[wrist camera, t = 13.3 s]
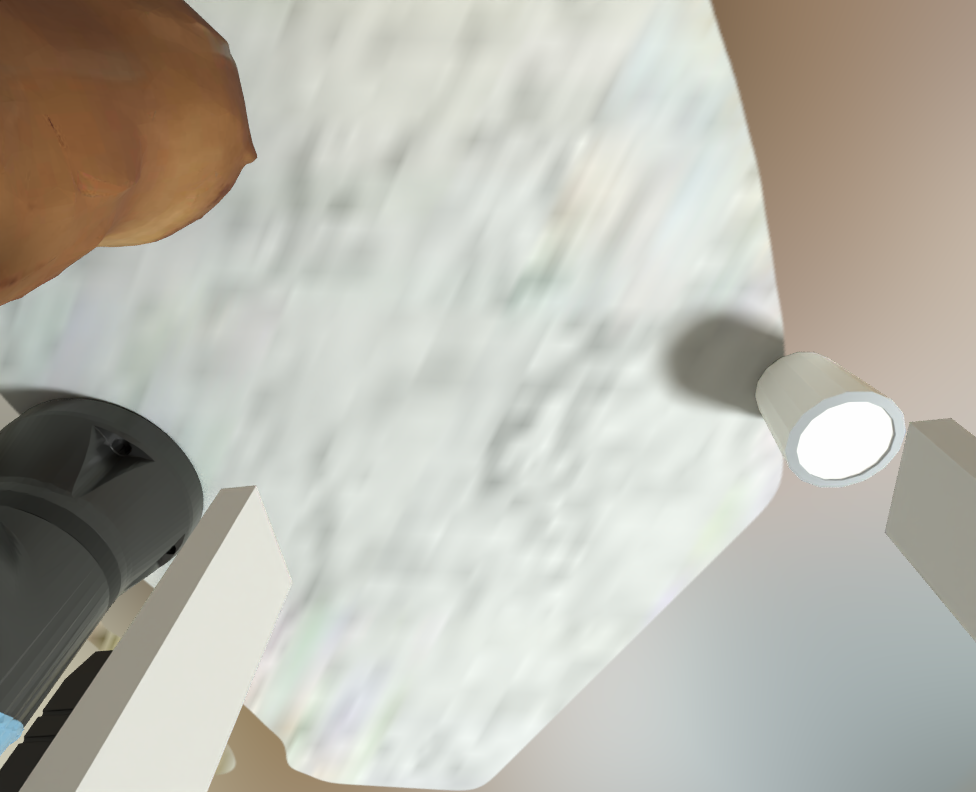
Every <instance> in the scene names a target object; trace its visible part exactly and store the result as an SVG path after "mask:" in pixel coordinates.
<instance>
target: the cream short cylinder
mask: <svg viewBox="0 0 976 792" xmlns="http://www.w3.org/2000/svg"><path fill="white" fill-rule="evenodd" d="M755 398H756V401H757V405H758V409H759V410H760V412H761V414H762V416H763V418H764V420H765V422H766V424H767V426H768V428H769V430H770V432H771V434H772V436H773V438H774V439H775V441H776V443H777V445H778V447H779V449H780V451H781V453H782V455H783V457H784V459H785V461H786V463H787V465H788V466H789V468H790V469H791V470H792V471H793V472H794V473H795V474H796V475H797V476H798V477H799V478H800V479H801V481H804V482H807V483H809V484H812V485H815V486H818V487H845V486H848V485H851V484H855V483H858V482H861V481H864V480H866V479H868V478H869V477H871V476H873V475H874V474H875V473H877V472H879V471H880V470H882V469H883V468H885V467H886V466H887V464H888V463H889V462H890V461H891V460H892V459H893V457H894V456H895V455H896V454H897V453H898V452H899V450H900V447H901V444H902V441H903V439H904V436H905V433H906V429H905V422H904V415H903V413H902V411H901V410H900V409H899V408H898V407H897V405H896V404H895V403H894V402H893V401H892V400H891V399H890V398H889V397H887V396H886V395H884V394H882V393H881V392H879V391H878V390H876V389H875V388H873V387H872V386H870V385H869V384H867V383H866V382H864V381H863V380H861V379H860V378H858V377H857V376H855V375H853V374H852V373H851V372H849V371H847V370H846V369H844V368H843V367H841V366H840V365H838V364H837V363H835V362H834V361H832V360H831V359H829V358H828V357H825V356H823V355H820V354H818V353H815V352H796V353H793V354H790V355H787V356H785V357H782V358H780V359H779V360H777V361H776V362H775V363H773V364H772V365H771V366H769V367H768V368H767V369H766V370H765V372H764V373H763V375H762V376H761V378H760V379H759V381H758V383H757V388H756V393H755Z"/></svg>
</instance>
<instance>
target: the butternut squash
mask: <svg viewBox="0 0 976 792" xmlns="http://www.w3.org/2000/svg"><path fill="white" fill-rule="evenodd" d="M256 158H257V154H256V151H255V148H254V146H253V143H252V138H251V134H250V130H249V125H248V119H247V113H246V107H245V101H244V97H243V92H242V88H241V83H240V79H239V74H238V70H237V67H236V63H235V61H234V59H233V57H232V56H231V54H230V49H229V45H228V43H227V41H226V40H225V39H224V38H223V37H222V36H221V35H220V34H219V33H218V32H217V31H215V30H214V29H213V28H212V27H211V26H210V25H209V24H208V23H207V22H206V21H205V20H204V19H203V18H202V17H201V16H200V15H199V14H198V13H197V12H195V11H194V10H193V9H192V8H191V7H190V6H189V5H188V4H187V3H186V2H185V1H184V0H0V306H1V305H3V304H6V303H8V302H10V301H13V300H16V299H19V298H22V297H23V296H25V295H26V294H28V293H29V292H30V291H32V290H34V289H35V288H37V287H39V286H40V285H42V284H44V283H45V282H47V281H49V280H51V279H53V278H55V277H56V276H58V275H59V274H60V273H61V272H62V271H63V270H65V269H66V268H67V267H69V266H70V265H71V264H73V263H74V262H76V261H77V260H79V259H80V258H81V257H83V256H84V255H86V254H87V253H89V252H90V251H92V250H93V249H94V248H96V247H121V246H135V245H141V244H146V243H152V242H156V241H159V240H161V239H163V238H166V237H168V236H170V235H172V234H174V233H175V232H177V231H179V230H181V229H182V228H184V227H186V226H187V225H189V224H191V223H193V222H195V221H196V220H198V219H201V218H202V217H203V216H204V215H205V214H206V213H207V212H209V211H210V210H211V209H212V208H213V207H214V206H215V205H216V204H218V203H219V202H220V200H221V199H222V198H223V197H224V196H225V195H226V194H227V193H228V192H229V191H230V190H231V188H232V187H233V185H234V184H235V182H236V180H237V178H238V176H239V174H240V172H241V170H242V169H243V167H244V166H245V165H246V164H249V163H251V162H253V161H254V160H255V159H256Z"/></svg>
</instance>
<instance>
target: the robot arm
mask: <svg viewBox="0 0 976 792" xmlns="http://www.w3.org/2000/svg"><path fill="white" fill-rule="evenodd" d="M202 511H203V492H202V487H201V483H200V480H199V478H198V475H197V473H196V471H195V469H194V467H193V465H192V464H191V462H190V460H189V459H188V457H187V456H186V455H185V453H184V452H183V451H182V450H181V448H180V447H179V446H178V445H177V444H176V443H175V442H174V441H173V440H172V439H171V438H170V437H169V436H168V435H166V434H165V433H164V432H163V431H162V430H160V429H159V428H158V427H156V426H155V425H153V424H152V423H150V422H149V421H147V420H145V419H144V418H142V417H140V416H138V415H136V414H134V413H132V412H130V411H128V410H125V409H123V408H120V407H118V406H115V405H112V404H108V403H104V402H100V401H95V400H89V399H73V398H72V399H58V400H53V401H49V402H45V403H42V404H39V405H37V406H35V407H33V408H31V409H29V410H28V411H26V412H25V413H23V414H22V415H20V416H19V417H18V418H16V419H15V420H14V421H12V422H11V423H9V424H8V425H7V426H5V427H4V428H3V429H2V430H1V431H0V755H1V754H2V753H3V752H4V750H5V749H6V748H7V747H8V746H9V745H10V744H12V743H13V742H15V741H16V740H17V739H18V738H19V737H20V736H21V734H22V731H23V730H24V729H23V728H24V727H25V725H26V724H27V723H28V721H29V720H30V718H31V717H32V716H33V714H34V713H35V711H36V710H37V709H38V707H39V706H40V704H41V703H42V702H43V700H44V699H45V697H46V696H47V694H48V693H49V692H50V690H51V689H52V688H53V686H54V685H55V683H56V682H57V681H58V679H59V678H60V676H61V675H62V674H63V672H64V671H65V669H66V668H67V667H68V665H69V664H70V662H71V661H72V660H73V658H74V657H75V655H76V654H77V652H78V651H79V650H80V649H81V647H82V646H83V644H84V643H85V642H86V640H87V639H88V637H89V636H90V635H91V633H92V632H93V630H94V629H95V628H96V626H97V625H98V623H99V622H100V621H101V619H102V618H103V616H104V615H105V613H106V612H107V611H108V609H109V608H110V607H111V605H112V604H113V603H114V602H115V600H116V599H117V597H118V596H120V595H121V594H122V593H124V592H126V591H127V590H128V589H130V588H131V587H133V586H134V585H136V584H137V583H138V582H140V581H141V580H143V579H144V578H146V577H147V576H148V575H150V574H151V573H153V572H154V571H155V570H157V569H158V568H159V567H161V566H163V565H164V564H165V563H167V562H168V561H170V560H171V559H172V558H173V557H174V556H176V555H177V556H176V557H175V559H174V560H173V562H172V563H171V565H170V566H169V568H168V569H167V571H166V572H165V574H164V575H163V577H162V578H161V580H160V581H159V583H158V584H157V586H156V587H155V589H154V590H153V592H152V593H151V595H150V596H149V598H148V599H147V601H146V602H145V604H144V605H143V607H142V608H141V610H140V611H139V613H138V614H137V616H136V617H135V619H134V620H133V622H132V623H131V625H130V626H129V628H128V629H127V631H126V632H125V634H124V635H123V636H122V638H121V639H120V641H119V642H118V644H117V645H116V647H115V648H114V650H110V651H97V652H95V653H94V654H92V655H91V656H90V657H89V658H88V659H87V660H86V661H85V662H84V663H83V664H82V665H80V666H79V667H78V668H77V669H76V670H75V671H74V672H73V673H71V674H70V675H69V676H68V677H67V678H66V679H65V680H64V682H63V683H62V684H61V686H60V687H59V689H58V690H57V691H56V693H55V694H54V696H53V697H52V698H51V700H50V701H49V702H48V704H47V705H46V707H45V708H44V709H43V715H42V716H41V717H38V718H37V719H36V721H35V722H34V723H33V725H32V726H31V728H30V729H29V730H28V732H27V733H26V735H25V736H24V742H23V743H21V744H18V746H17V747H16V748H15V750H14V751H13V753H12V754H11V755H10V757H9V758H8V760H7V761H6V763H5V764H4V765H3V767H2V768H1V769H0V792H207V791H208V788H209V786H210V783H211V781H212V778H213V776H214V774H215V771H216V769H217V766H218V764H219V761H220V759H221V756H222V754H223V751H224V749H225V747H226V744H227V742H228V739H229V737H230V734H231V732H232V729H233V727H234V724H235V722H236V720H237V717H238V715H239V712H240V710H241V707H242V705H243V702H244V700H245V698H246V695H247V693H248V690H249V688H250V685H251V683H252V680H253V678H254V675H255V673H256V671H257V668H258V666H259V663H260V661H261V658H262V656H263V653H264V651H265V648H266V646H267V644H268V641H269V639H270V636H271V634H272V631H273V629H274V626H275V624H276V621H277V619H278V617H279V614H280V612H281V609H282V607H283V604H284V602H285V599H286V597H287V594H288V592H289V590H290V587H291V585H292V579H291V576H290V574H289V571H288V568H287V566H286V563H285V560H284V558H283V555H282V553H281V550H280V547H279V545H278V542H277V539H276V537H275V534H274V531H273V529H272V526H271V523H270V521H269V518H268V515H267V513H266V510H265V508H264V505H263V502H262V500H261V497H260V494H259V492H258V489H257V486H246V487H235V488H225V489H221V490H220V491H219V493H218V494H217V496H216V497H215V499H214V500H213V502H212V503H211V505H210V506H209V508H208V509H207V511H206V512H205V514H204V515H203V517H202V518H201V516H202ZM200 519H201V520H200ZM885 533H886V534H887V536H888V537H889V538H890V539H891V540H892V542H893V543H894V544H895V545H896V546H897V548H898V549H899V550H900V551H901V553H902V554H903V555H904V556H905V557H906V559H907V560H908V561H909V562H910V563H911V565H912V566H913V567H914V568H915V569H916V570H917V572H918V573H919V574H920V575H921V576H922V578H923V579H924V580H925V581H926V583H927V584H928V585H929V586H930V587H931V589H932V590H933V591H934V592H935V593H936V595H937V596H938V597H939V598H940V600H941V601H942V602H943V603H944V604H945V606H946V607H947V608H948V609H949V610H950V612H951V613H952V614H953V615H954V616H955V618H956V619H957V620H958V621H959V622H960V623H961V625H962V626H963V627H964V628H965V630H966V631H967V632H968V633H969V634H970V636H971V637H972V638H973V639H974V640H975V642H976V437H975V436H974V435H972V434H971V433H970V432H968V431H967V430H966V429H964V428H963V427H962V426H961V425H959V424H958V423H957V422H955V421H954V420H953V419H952V418H948V419H938V420H927V421H918V422H910V423H909V427H908V432H907V436H906V440H905V445H904V450H903V454H902V458H901V462H900V467H899V471H898V476H897V480H896V485H895V489H894V494H893V498H892V502H891V507H890V511H889V516H888V520H887V525H886V529H885ZM178 552H179V553H178ZM177 553H178V554H177Z"/></svg>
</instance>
